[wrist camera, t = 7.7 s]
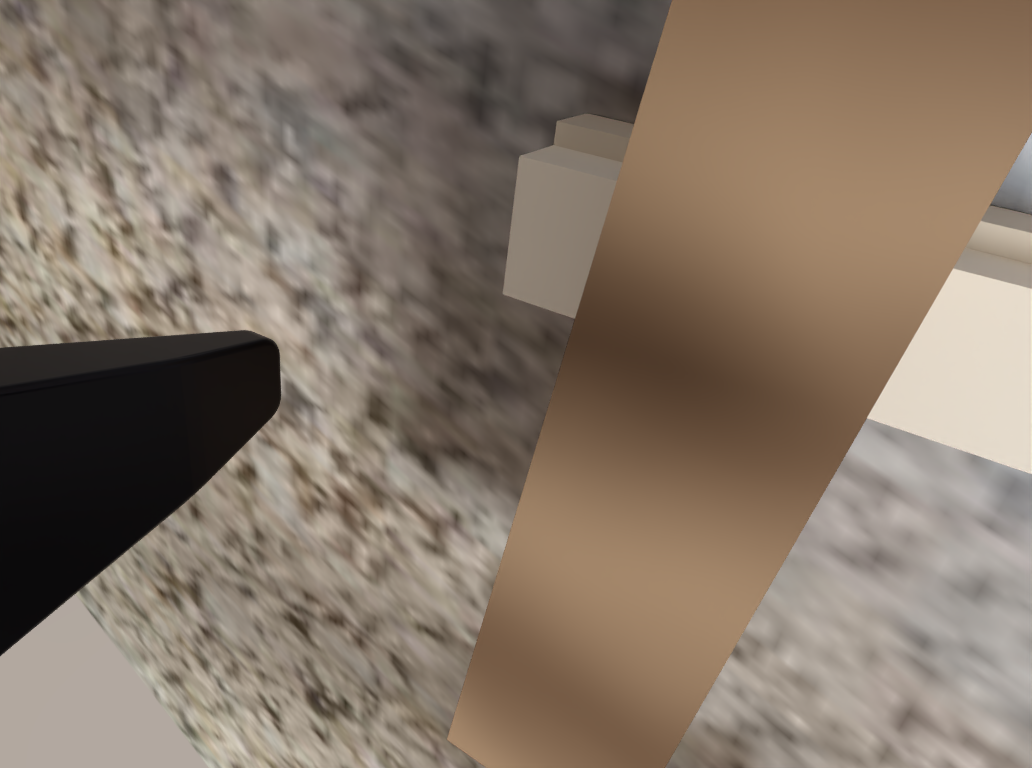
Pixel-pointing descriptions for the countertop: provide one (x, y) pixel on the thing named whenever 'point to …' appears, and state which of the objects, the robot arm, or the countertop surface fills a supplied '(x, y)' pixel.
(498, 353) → the countertop surface
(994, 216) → the stepped block
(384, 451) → the countertop surface
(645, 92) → the walnut bar
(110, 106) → the countertop surface
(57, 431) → the robot arm
